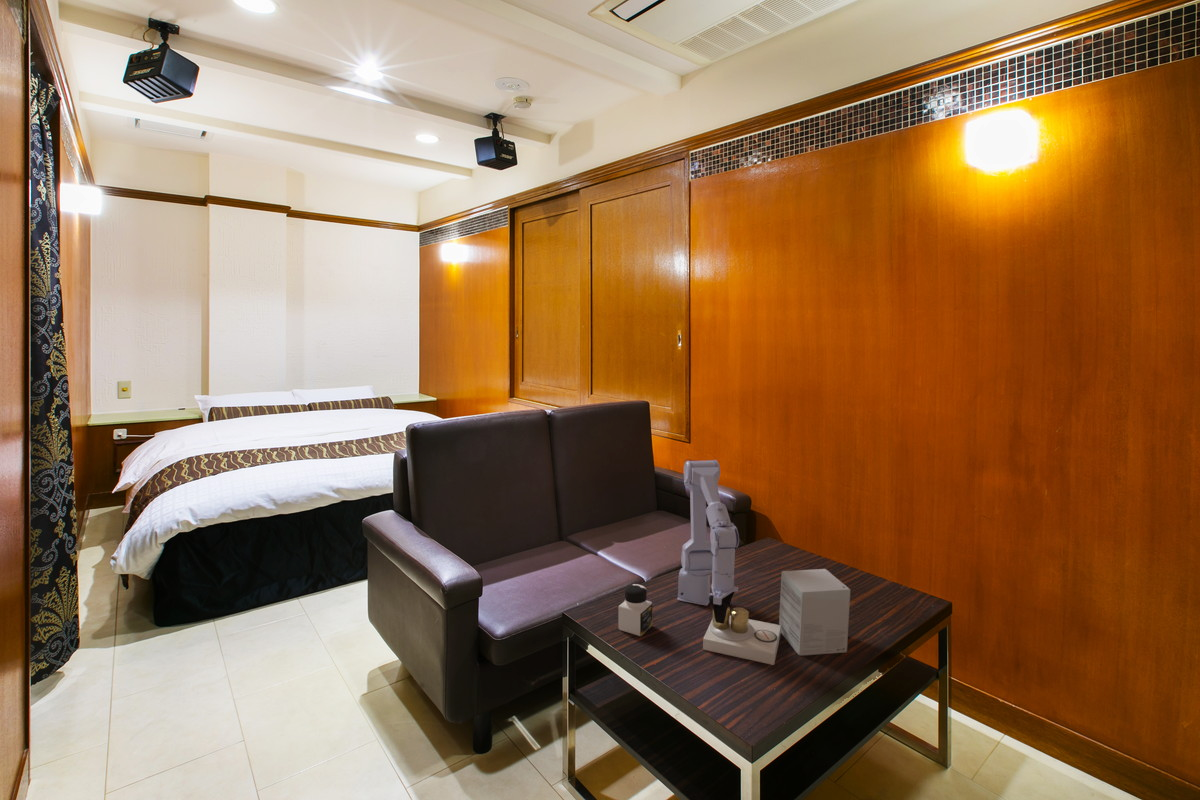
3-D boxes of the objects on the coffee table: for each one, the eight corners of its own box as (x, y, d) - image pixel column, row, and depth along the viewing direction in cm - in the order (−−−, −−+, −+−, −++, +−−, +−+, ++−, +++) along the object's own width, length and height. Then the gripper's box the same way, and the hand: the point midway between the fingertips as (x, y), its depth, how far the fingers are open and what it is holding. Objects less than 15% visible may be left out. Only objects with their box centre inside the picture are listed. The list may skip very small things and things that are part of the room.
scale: (702, 649, 153) (703, 636, 153) (714, 622, 167) (715, 610, 166) (774, 665, 146) (774, 651, 146) (780, 635, 160) (780, 623, 160)
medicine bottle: (640, 637, 159) (641, 595, 158) (618, 629, 163) (618, 589, 161) (652, 625, 165) (653, 585, 164) (630, 618, 169) (630, 579, 167)
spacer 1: (711, 628, 157) (712, 610, 156) (713, 620, 161) (713, 603, 161) (729, 630, 156) (729, 613, 155) (729, 622, 160) (730, 605, 159)
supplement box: (822, 627, 165) (825, 567, 162) (847, 653, 152) (851, 589, 149) (777, 629, 163) (780, 570, 161) (799, 656, 150) (802, 592, 148)
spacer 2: (729, 631, 155) (729, 613, 155) (732, 623, 160) (733, 606, 159) (746, 635, 154) (746, 617, 153) (749, 627, 158) (750, 609, 157)
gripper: (733, 584, 148) (731, 634, 150) (742, 562, 161) (741, 608, 163) (705, 579, 151) (704, 628, 153) (717, 558, 164) (716, 604, 166)
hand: (721, 618), depth 158 cm, fingers closed on spacer 1, 4 cm apart
